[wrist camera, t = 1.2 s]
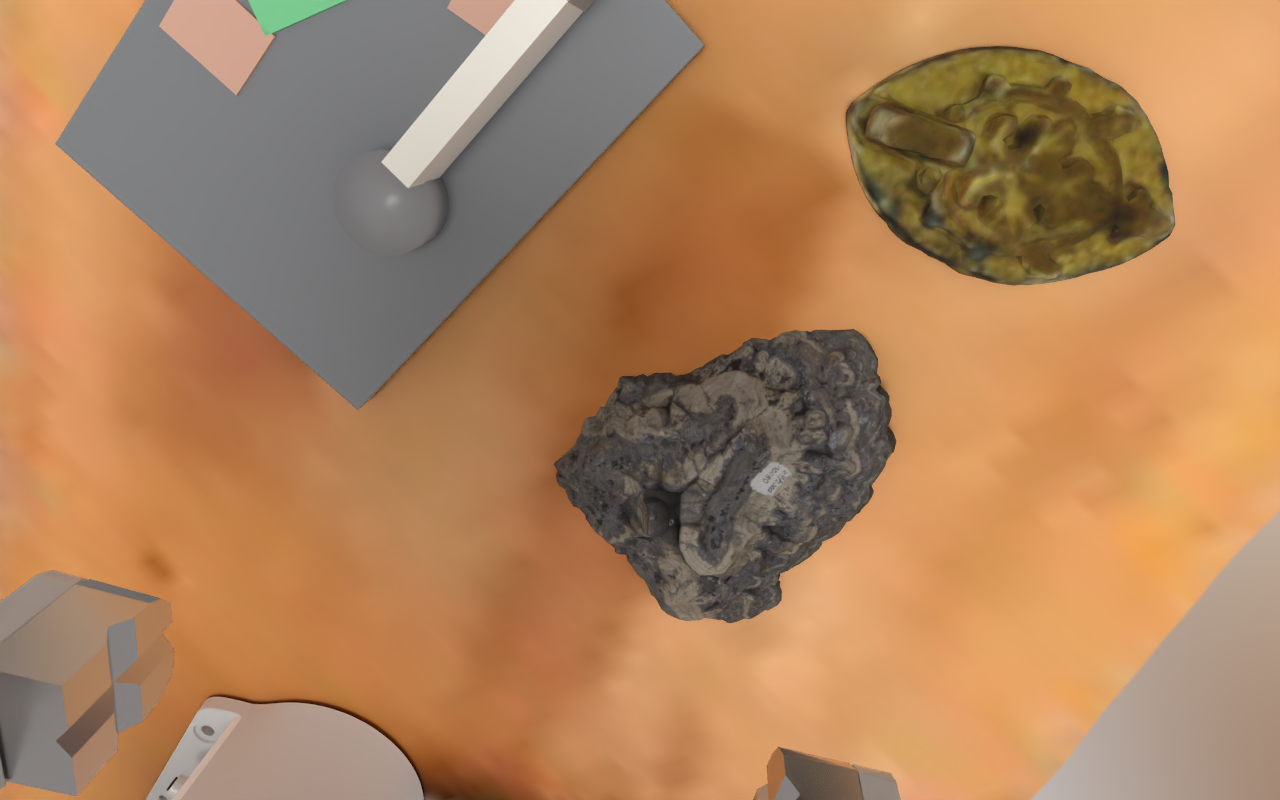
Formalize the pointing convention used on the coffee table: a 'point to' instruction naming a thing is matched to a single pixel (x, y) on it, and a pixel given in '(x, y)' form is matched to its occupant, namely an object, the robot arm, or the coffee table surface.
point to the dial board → (350, 151)
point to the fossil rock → (733, 468)
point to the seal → (1011, 165)
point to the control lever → (444, 133)
